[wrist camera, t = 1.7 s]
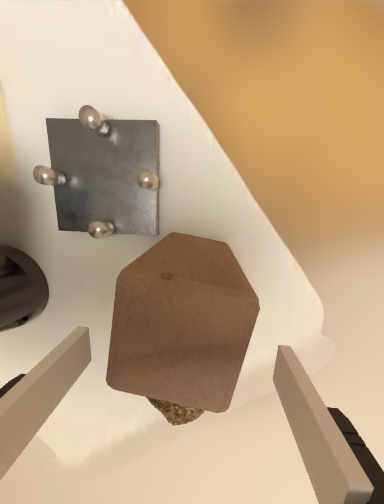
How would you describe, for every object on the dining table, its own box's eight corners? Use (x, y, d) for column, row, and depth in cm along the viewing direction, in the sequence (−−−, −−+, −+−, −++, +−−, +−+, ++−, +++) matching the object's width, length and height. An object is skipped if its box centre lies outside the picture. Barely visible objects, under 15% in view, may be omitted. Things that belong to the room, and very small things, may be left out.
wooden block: (169, 230, 32) (111, 269, 12) (229, 243, 31) (268, 302, 12) (160, 286, 34) (99, 393, 15) (216, 298, 34) (229, 423, 14)
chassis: (63, 231, 33) (41, 235, 29) (50, 119, 29) (23, 104, 25) (161, 236, 32) (153, 241, 28) (161, 121, 28) (153, 106, 24)
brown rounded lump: (221, 392, 39) (223, 418, 34) (177, 421, 41) (173, 450, 36) (177, 349, 37) (172, 371, 32) (134, 383, 40) (124, 407, 35)
